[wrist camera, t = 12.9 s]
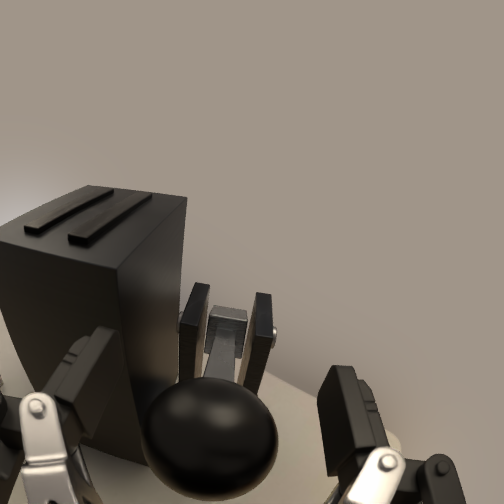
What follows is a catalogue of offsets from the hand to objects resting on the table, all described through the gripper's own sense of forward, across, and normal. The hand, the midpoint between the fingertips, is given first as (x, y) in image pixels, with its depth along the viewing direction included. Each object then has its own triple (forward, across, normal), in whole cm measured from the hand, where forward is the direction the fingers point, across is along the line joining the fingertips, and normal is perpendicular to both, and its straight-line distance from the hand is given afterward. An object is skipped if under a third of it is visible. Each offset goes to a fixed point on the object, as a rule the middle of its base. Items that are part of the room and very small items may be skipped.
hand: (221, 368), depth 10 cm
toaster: (+8, +9, +17) cm, 20 cm away
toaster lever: (+1, 0, +3) cm, 3 cm away
